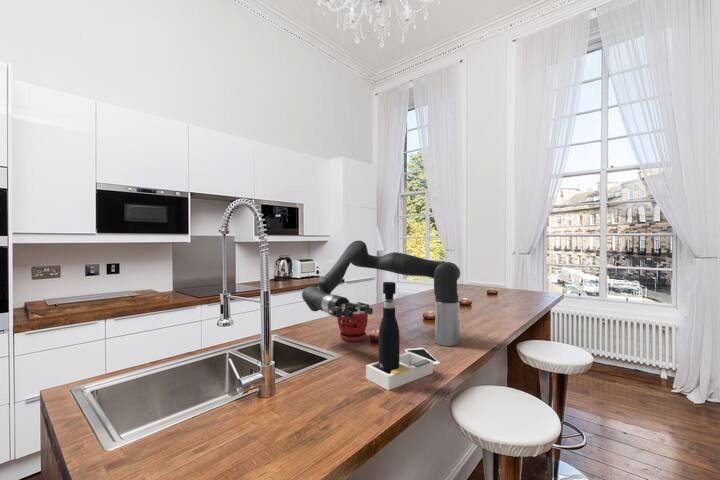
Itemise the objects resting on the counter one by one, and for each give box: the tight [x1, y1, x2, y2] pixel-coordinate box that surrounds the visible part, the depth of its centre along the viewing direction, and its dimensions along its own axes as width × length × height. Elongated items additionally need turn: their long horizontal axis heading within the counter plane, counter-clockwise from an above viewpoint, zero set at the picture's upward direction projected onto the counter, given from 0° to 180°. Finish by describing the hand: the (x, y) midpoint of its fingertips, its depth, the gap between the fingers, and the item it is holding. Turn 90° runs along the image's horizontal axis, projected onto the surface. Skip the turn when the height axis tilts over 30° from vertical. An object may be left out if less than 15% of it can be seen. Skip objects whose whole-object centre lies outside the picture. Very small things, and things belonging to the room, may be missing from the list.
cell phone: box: [404, 347, 441, 366], centre depth 123 cm, size 8×16×1 cm, turn 11°
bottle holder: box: [365, 352, 434, 391], centre depth 106 cm, size 20×11×5 cm, turn 128°
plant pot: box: [337, 308, 369, 342], centre depth 144 cm, size 13×13×12 cm
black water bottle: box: [378, 281, 400, 374], centre depth 103 cm, size 6×6×30 cm
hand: (362, 313), depth 113 cm, fingers open, 8 cm apart
